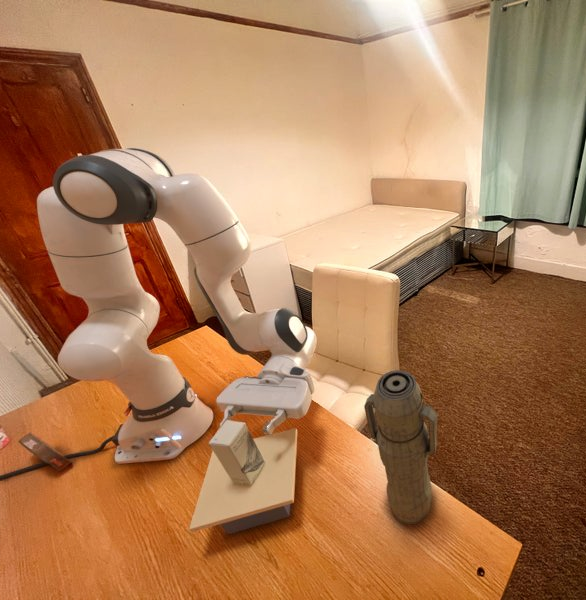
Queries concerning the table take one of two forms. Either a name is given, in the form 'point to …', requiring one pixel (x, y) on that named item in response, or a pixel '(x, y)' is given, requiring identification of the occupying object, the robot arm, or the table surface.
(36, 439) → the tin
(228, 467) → the box
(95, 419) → the table surface
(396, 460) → the thermos
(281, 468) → the stand
